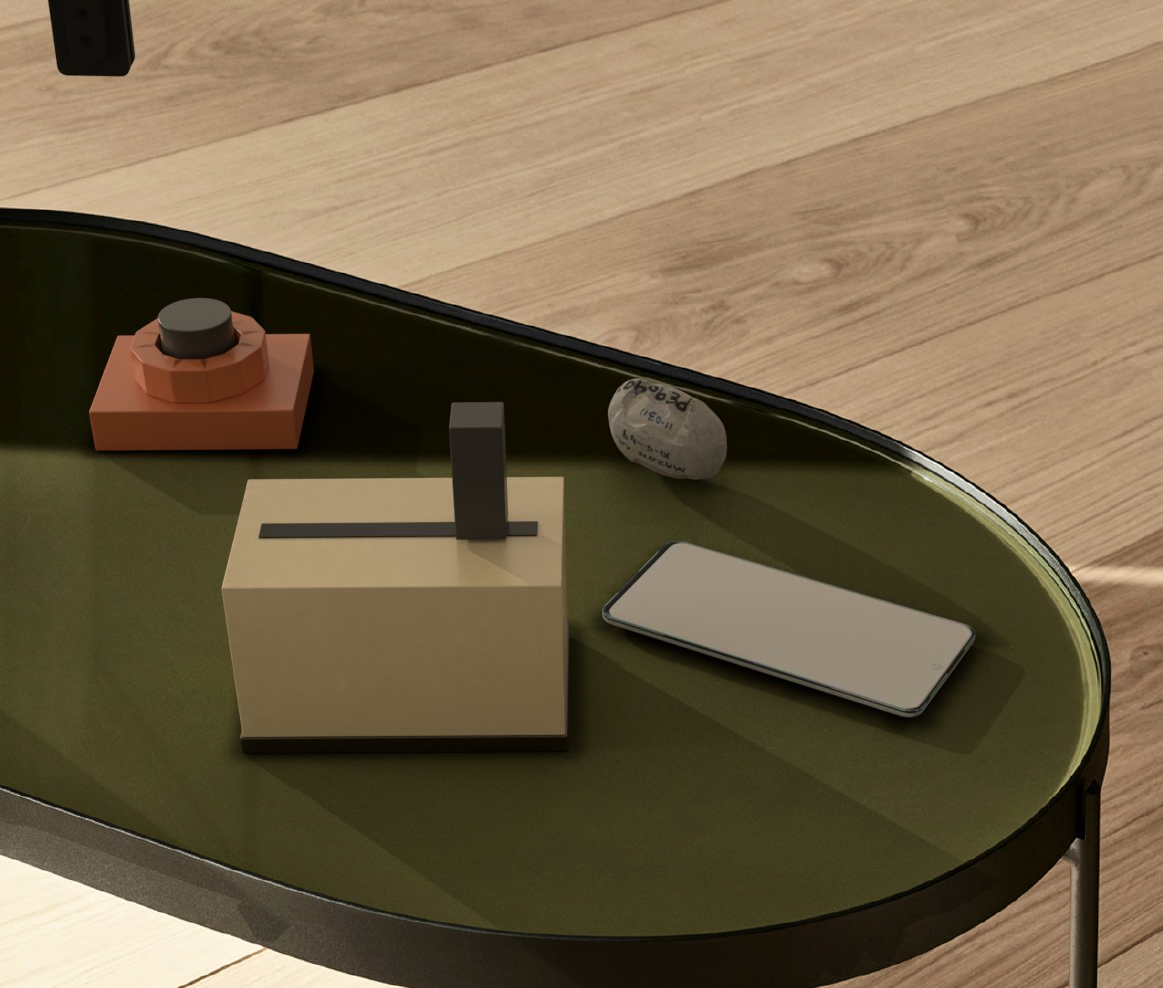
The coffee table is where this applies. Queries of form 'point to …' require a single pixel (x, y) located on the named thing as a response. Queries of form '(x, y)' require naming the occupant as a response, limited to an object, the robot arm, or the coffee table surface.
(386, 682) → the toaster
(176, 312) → the timer button
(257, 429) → the timer box
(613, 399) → the fossil
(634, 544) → the coffee table surface
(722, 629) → the smartphone
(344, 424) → the coffee table surface
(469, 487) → the slider
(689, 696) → the coffee table surface
